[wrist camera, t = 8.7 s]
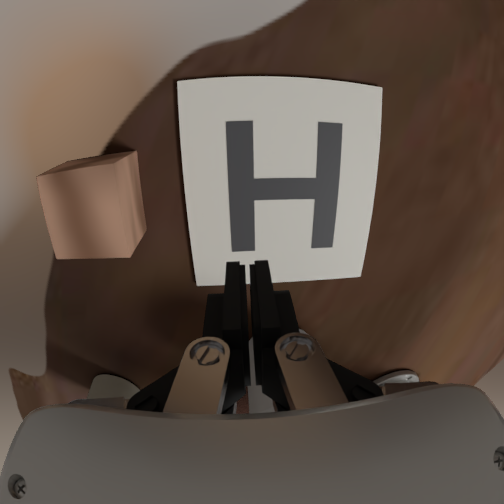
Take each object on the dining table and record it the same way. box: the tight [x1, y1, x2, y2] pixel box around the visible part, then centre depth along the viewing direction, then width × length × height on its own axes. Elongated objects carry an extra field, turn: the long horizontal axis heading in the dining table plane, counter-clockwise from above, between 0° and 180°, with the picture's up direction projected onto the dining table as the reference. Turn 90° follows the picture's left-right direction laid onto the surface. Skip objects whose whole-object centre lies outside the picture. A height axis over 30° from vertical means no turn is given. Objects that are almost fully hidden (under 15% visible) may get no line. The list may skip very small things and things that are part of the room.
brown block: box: [36, 151, 147, 259], centre depth 20 cm, size 7×7×5 cm
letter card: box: [177, 76, 382, 286], centre depth 23 cm, size 16×18×1 cm
